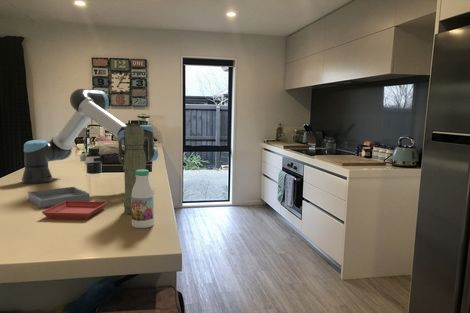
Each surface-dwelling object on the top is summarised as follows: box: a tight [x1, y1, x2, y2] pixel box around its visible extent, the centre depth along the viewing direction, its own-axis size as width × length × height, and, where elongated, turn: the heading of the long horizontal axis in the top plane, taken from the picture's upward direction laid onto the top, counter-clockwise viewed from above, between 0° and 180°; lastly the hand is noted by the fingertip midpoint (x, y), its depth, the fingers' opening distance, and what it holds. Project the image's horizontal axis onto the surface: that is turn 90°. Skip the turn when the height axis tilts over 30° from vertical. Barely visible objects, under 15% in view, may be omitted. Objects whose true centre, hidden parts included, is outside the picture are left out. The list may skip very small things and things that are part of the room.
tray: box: [27, 186, 90, 210], centre depth 159 cm, size 20×20×4 cm
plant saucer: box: [41, 200, 107, 220], centre depth 140 cm, size 18×18×3 cm
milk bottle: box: [131, 169, 155, 229], centre depth 125 cm, size 8×8×20 cm
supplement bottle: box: [85, 147, 103, 175], centre depth 170 cm, size 7×7×12 cm
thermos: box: [117, 124, 150, 216], centre depth 142 cm, size 9×12×35 cm
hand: (83, 159), depth 167 cm, fingers closed on supplement bottle, 7 cm apart
